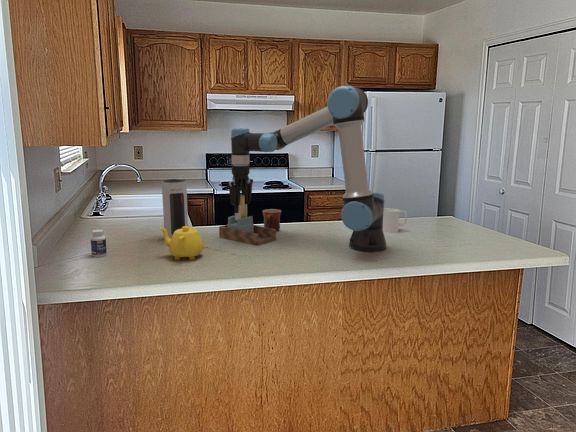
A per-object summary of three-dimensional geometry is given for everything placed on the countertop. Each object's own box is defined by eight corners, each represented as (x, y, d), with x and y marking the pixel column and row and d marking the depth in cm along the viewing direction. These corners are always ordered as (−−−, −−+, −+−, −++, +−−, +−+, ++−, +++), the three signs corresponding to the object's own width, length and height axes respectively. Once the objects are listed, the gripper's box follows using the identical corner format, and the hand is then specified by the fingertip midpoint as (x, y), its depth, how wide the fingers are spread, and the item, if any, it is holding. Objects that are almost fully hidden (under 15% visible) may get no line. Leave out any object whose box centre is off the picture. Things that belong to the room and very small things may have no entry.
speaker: (163, 242, 207) (160, 181, 201) (164, 236, 217) (161, 178, 211) (188, 241, 209) (186, 180, 203) (188, 235, 219) (186, 177, 213)
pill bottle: (97, 258, 183) (96, 232, 181) (88, 255, 186) (86, 231, 184) (109, 254, 188) (108, 230, 186) (100, 252, 190) (99, 228, 188)
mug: (265, 229, 231) (265, 208, 229) (283, 230, 229) (283, 209, 227) (258, 235, 219) (258, 213, 217) (277, 237, 218) (277, 214, 216)
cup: (407, 233, 227) (408, 212, 225) (381, 232, 229) (382, 211, 227) (405, 229, 235) (406, 208, 233) (380, 228, 237) (381, 208, 235)
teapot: (190, 249, 196) (189, 220, 194) (211, 256, 186) (210, 226, 184) (159, 256, 187) (158, 226, 184) (180, 264, 177) (179, 232, 174)
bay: (275, 243, 207) (276, 229, 206) (257, 248, 198) (257, 234, 197) (238, 234, 221) (238, 222, 219) (219, 239, 211) (219, 226, 210)
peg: (246, 222, 210) (246, 195, 208) (241, 223, 208) (240, 196, 205) (241, 221, 212) (240, 194, 210) (235, 222, 210) (235, 195, 207)
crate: (253, 236, 212) (253, 216, 210) (240, 240, 206) (240, 219, 204) (240, 233, 217) (240, 214, 215) (227, 237, 211) (227, 217, 209)
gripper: (247, 163, 213) (247, 215, 218) (220, 165, 201) (221, 221, 206) (260, 164, 209) (260, 217, 214) (233, 167, 196) (234, 223, 201)
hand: (241, 219), depth 210 cm, fingers closed on peg, 3 cm apart
